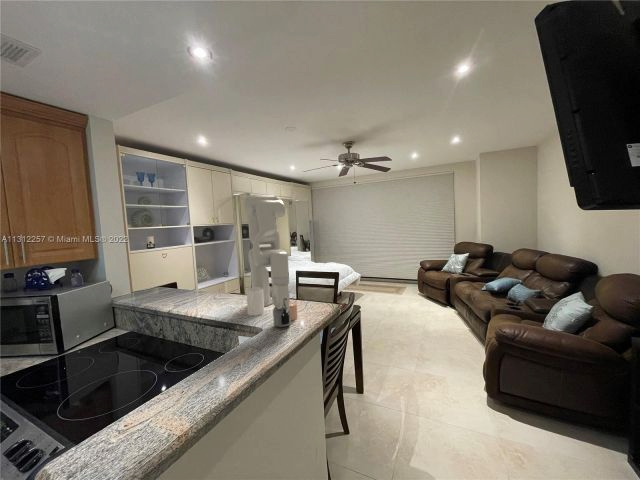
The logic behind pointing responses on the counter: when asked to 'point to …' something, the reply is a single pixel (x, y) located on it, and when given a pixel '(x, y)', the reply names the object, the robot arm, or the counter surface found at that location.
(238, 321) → the counter surface
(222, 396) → the counter surface
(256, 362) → the counter surface
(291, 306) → the cup terracotta
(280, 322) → the cup charcoal
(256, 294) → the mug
